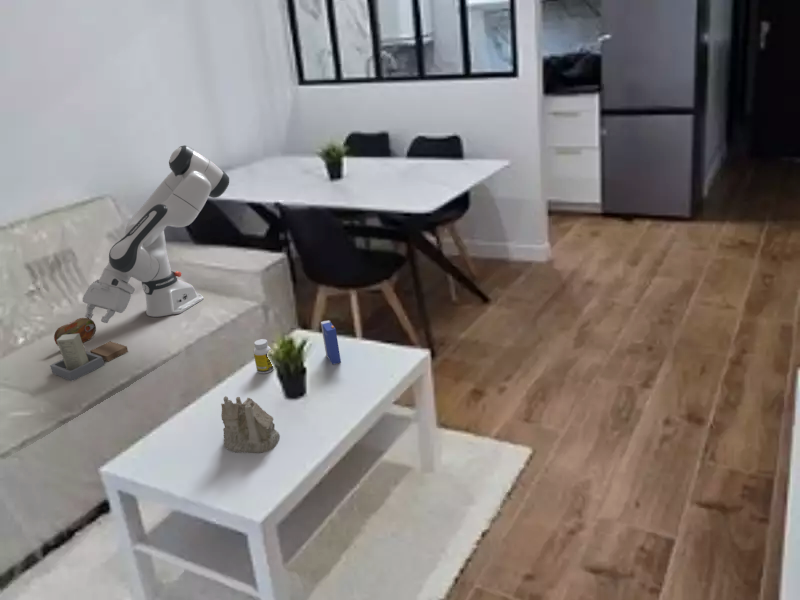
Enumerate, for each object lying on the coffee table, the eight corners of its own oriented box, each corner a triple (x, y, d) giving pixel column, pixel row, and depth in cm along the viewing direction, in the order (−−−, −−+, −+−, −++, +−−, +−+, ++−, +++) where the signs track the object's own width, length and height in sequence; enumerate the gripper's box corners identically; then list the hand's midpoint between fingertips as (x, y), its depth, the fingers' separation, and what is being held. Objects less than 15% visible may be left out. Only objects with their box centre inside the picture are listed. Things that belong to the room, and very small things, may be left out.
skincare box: (90, 365, 250) (80, 332, 245) (84, 371, 245) (74, 338, 241) (73, 366, 250) (62, 334, 246) (66, 372, 246) (55, 340, 242)
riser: (111, 346, 262) (110, 341, 261) (128, 351, 256) (126, 346, 256) (91, 355, 256) (89, 350, 256) (108, 361, 251) (106, 356, 250)
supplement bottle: (271, 374, 229) (265, 345, 226) (254, 374, 231) (248, 346, 227) (277, 365, 234) (271, 337, 230) (261, 365, 235) (255, 338, 232)
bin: (84, 357, 256) (82, 350, 254) (104, 364, 249) (102, 356, 248) (52, 373, 247) (49, 365, 246) (72, 381, 240) (69, 372, 239)
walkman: (341, 362, 231) (335, 327, 227) (332, 364, 231) (326, 329, 226) (334, 352, 238) (328, 318, 234) (325, 354, 238) (320, 320, 233)
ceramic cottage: (266, 456, 188) (255, 403, 183) (212, 451, 194) (200, 399, 189) (295, 426, 202) (286, 375, 197) (244, 422, 208) (233, 373, 203)
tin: (61, 352, 262) (54, 331, 259) (56, 351, 264) (49, 329, 260) (99, 335, 273) (92, 314, 269) (94, 334, 274) (88, 313, 271)
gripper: (88, 275, 256) (70, 311, 253) (123, 282, 245) (105, 321, 241) (102, 282, 261) (86, 318, 258) (138, 290, 250) (120, 328, 246)
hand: (95, 320), depth 250 cm, fingers open, 8 cm apart
